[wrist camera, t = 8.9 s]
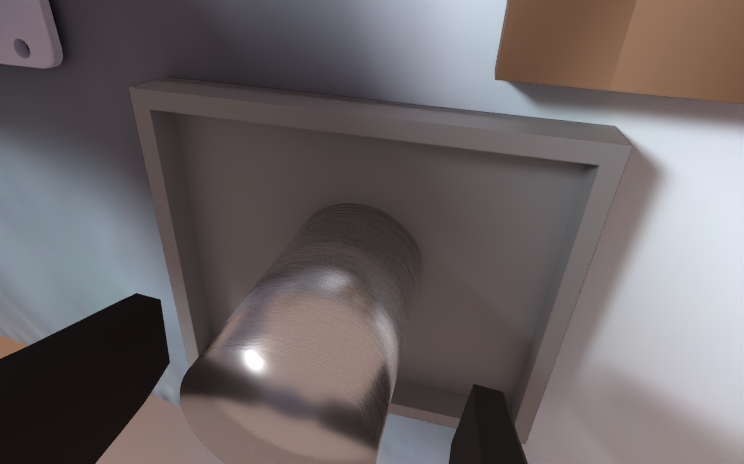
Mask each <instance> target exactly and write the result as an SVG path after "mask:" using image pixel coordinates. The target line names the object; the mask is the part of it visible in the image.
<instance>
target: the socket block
mask: <svg viewBox="0 0 744 464" xmlns="http://www.w3.org/2000/svg"><path fill="white" fill-rule="evenodd" d="M495 80H503V81H513V82H523V83H534V84H544V85H554V86H565V87H575V88H585V89H596V90H606V91H616V92H627V93H637V94H647V95H658V96H668V97H678V98H689V99H699V100H709V101H720V102H730V103H740V104H744V0H508V1H507V6H506V12H505V17H504V23H503V28H502V34H501V39H500V45H499V50H498V56H497V61H496V67H495Z"/></svg>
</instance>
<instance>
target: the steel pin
mask: <svg viewBox="0 0 744 464" xmlns="http://www.w3.org/2000/svg"><path fill="white" fill-rule="evenodd" d="M421 276H422V261H421V255H420V252H419V249H418V247H417V245H416V243H415V241H414V239H413V238H412V236H411V235H410V233H409V232H408V231H407V230H406V229H405V228H404V227H403V226H402V225H401V224H400V223H399V222H398V221H397V220H395V219H394V218H393V217H391V216H390V215H388V214H386V213H384V212H382V211H381V210H378V209H376V208H373V207H370V206H366V205H361V204H354V203H344V204H336V205H332V206H328V207H326V208H323V209H321V210H319V211H317V212H316V213H314V214H313V215H312V216H311V217H309V218H308V219H307V221H306V222H305V223H304V224H303V225H302V227H301V228H300V229H299V230H298V232H297V233H296V234H295V235H294V237H293V238H292V239H291V240H290V242H289V243H288V244H287V245H286V247H285V248H284V249H283V251H282V252H281V253H280V254H279V256H278V257H277V258H276V259H275V261H274V262H273V263H272V264H271V266H270V267H269V268H268V270H267V271H266V272H265V273H264V275H263V276H262V277H261V278H260V280H259V281H258V282H257V283H256V285H255V286H254V287H253V288H252V290H251V291H250V292H249V294H248V295H247V296H246V297H245V299H244V300H243V301H242V302H241V304H240V305H239V306H238V307H237V309H236V310H235V311H234V312H233V314H232V315H231V316H230V318H229V319H228V320H227V321H226V323H225V324H224V325H223V326H222V328H221V329H220V330H219V331H218V333H217V334H216V335H215V337H214V338H213V339H212V340H211V342H210V343H209V344H208V345H207V347H206V348H205V349H204V350H203V352H202V353H201V354H200V355H199V357H198V358H197V359H196V361H195V362H194V363H193V364H192V366H191V367H190V368H189V369H188V371H187V372H186V374H185V376H184V377H183V380H182V383H181V388H180V401H181V406H182V410H183V413H184V415H185V417H186V420H187V422H188V424H189V425H190V427H191V429H192V430H193V431H194V433H195V434H196V436H197V437H198V438H199V440H200V441H201V442H202V443H203V444H204V445H205V446H206V447H207V448H208V449H209V450H210V451H211V452H212V453H213V454H214V455H215V456H216V457H218V458H219V459H220V460H221V461H222V462H224V463H225V464H375V463H376V459H377V455H378V451H379V447H380V443H381V439H382V435H383V431H384V427H385V423H386V419H387V415H388V411H389V406H390V402H391V398H392V394H393V390H394V386H395V382H396V378H397V374H398V370H399V366H400V362H401V358H402V354H403V350H404V346H405V341H406V337H407V333H408V329H409V325H410V321H411V317H412V313H413V309H414V305H415V301H416V297H417V293H418V289H419V285H420V281H421Z"/></svg>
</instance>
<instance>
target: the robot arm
mask: <svg viewBox="0 0 744 464" xmlns="http://www.w3.org/2000/svg"><path fill="white" fill-rule="evenodd" d="M26 44H27V45H28V47H29V49H30V52H29V50H28V48H27V47H26ZM62 59H63V53H62V47H61V44H60V40H59V37H58V33H57V29H56V26H55V22H54V19H53V15H52V11H51V8H50V4H49V1H48V0H0V64H7V65H16V66H25V67H34V68H43V69H45V68H51V67H56V66H59V65H60V64H61V63H62ZM169 363H170V360H169V354H168V347H167V340H166V333H165V327H164V320H163V313H162V306H161V300H160V299H156V298H152V297H149V296H145V295H141V294H137V293H136V294H134V295H132V296H130V297H127V298H125V299H123V300H121V301H119V302H117V303H115V304H113V305H111V306H109V307H107V308H105V309H103V310H101V311H99V312H97V313H95V314H93V315H91V316H89V317H87V318H85V319H82V320H80V321H78V322H76V323H74V324H72V325H70V326H68V327H66V328H64V329H62V330H60V331H58V332H56V333H54V334H52V335H50V336H48V337H46V338H44V339H42V340H40V341H38V342H36V343H34V344H32V345H29V346H27V347H25V348H23V349H21V350H19V351H17V352H14V353H12V354H10V355H8V356H6V357H3V358H1V359H0V464H95V463H96V462H97V460H98V459H99V458H100V457H101V456H102V454H103V453H104V452H105V451H106V450H107V448H108V447H109V446H110V445H111V444H112V442H113V441H114V440H115V439H116V437H117V436H118V435H119V434H120V433H121V431H122V430H123V429H124V427H125V426H126V425H127V424H128V423H129V421H130V420H131V419H132V417H133V416H134V415H135V414H136V412H137V411H138V410H139V409H140V407H141V406H142V405H143V404H144V402H145V401H146V399H147V398H148V396H149V395H150V393H151V392H152V390H153V389H154V387H155V386H156V384H157V382H158V381H159V379H160V378H161V376H162V374H163V373H164V371H165V369H166V368H167V366H168V364H169ZM449 464H528V463H527V460H526V457H525V454H524V451H523V449H522V446H521V443H520V440H519V437H518V434H517V431H516V428H515V425H514V421H513V418H512V415H511V411H510V408H509V405H508V401H507V397H506V396H505V394H504V393H503V392H502V391H498V390H495V389H491V388H487V387H483V386H480V385H476V384H473V386H472V389H471V392H470V395H469V397H468V400H467V403H466V405H465V408H464V411H463V414H462V416H461V419H460V422H459V424H458V427H457V430H456V432H455V435H454V438H453V441H452V443H451V451H450V459H449Z"/></svg>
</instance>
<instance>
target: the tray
mask: <svg viewBox="0 0 744 464" xmlns="http://www.w3.org/2000/svg"><path fill="white" fill-rule="evenodd" d="M129 92H130V97H131V102H132V106H133V111H134V116H135V120H136V125H137V129H138V134H139V139H140V143H141V148H142V153H143V157H144V162H145V166H146V171H147V176H148V180H149V185H150V190H151V194H152V199H153V203H154V208H155V213H156V217H157V222H158V226H159V231H160V236H161V240H162V245H163V250H164V254H165V259H166V263H167V268H168V273H169V277H170V282H171V287H172V291H173V296H174V300H175V305H176V310H177V314H178V319H179V324H180V328H181V333H182V337H183V342H184V347H185V351H186V356H187V361H188V365H189V367H191V366H192V364H193V363H194V362H195V361H196V359H197V358H198V357H199V355H200V354H201V353H202V352H203V350H204V349H205V348H206V347H207V345H208V344H209V343H210V342H211V340H212V339H213V338H214V337H215V335H216V334H217V333H218V331H219V330H220V329H221V328H222V326H223V325H224V324H225V323H226V321H227V320H228V319H229V318H230V316H231V315H232V314H233V312H234V311H235V310H236V309H237V307H238V306H239V305H240V304H241V302H242V301H243V300H244V299H245V297H246V296H247V295H248V294H249V292H250V291H251V290H252V288H253V287H254V286H255V285H256V283H257V282H258V281H259V280H260V278H261V277H262V276H263V275H264V273H265V272H266V271H267V270H268V268H269V267H270V266H271V264H272V263H273V262H274V261H275V259H276V258H277V257H278V256H279V254H280V253H281V252H282V251H283V249H284V248H285V247H286V245H287V244H288V243H289V242H290V240H291V239H292V238H293V237H294V235H295V234H296V233H297V232H298V230H299V229H300V228H301V227H302V225H303V224H304V223H305V222H306V221H307V219H308V218H309V217H311V216H312V215H313V214H314V213H316V212H317V211H319V210H321V209H323V208H326V207H328V206H332V205H336V204H344V203H354V204H361V205H366V206H370V207H373V208H376V209H378V210H381V211H382V212H384V213H386V214H388V215H390V216H391V217H393V218H394V219H395V220H397V221H398V222H399V223H400V224H401V225H402V226H403V227H404V228H405V229H406V230H407V231H408V232H409V233H410V235H411V236H412V238H413V239H414V241H415V243H416V245H417V247H418V249H419V252H420V255H421V261H422V276H421V281H420V285H419V289H418V293H417V297H416V301H415V305H414V309H413V313H412V317H411V321H410V325H409V329H408V333H407V337H406V341H405V346H404V350H403V354H402V358H401V362H400V366H399V370H398V374H397V378H396V382H395V386H394V390H393V394H392V398H391V402H390V406H389V411H388V413H392V414H396V415H400V416H405V417H409V418H413V419H418V420H422V421H426V422H431V423H435V424H439V425H444V426H448V427H452V428H457V427H458V424H459V422H460V419H461V416H462V414H463V411H464V408H465V405H466V403H467V400H468V397H469V395H470V392H471V389H472V386H473V384H476V385H480V386H483V387H487V388H491V389H495V390H498V391H502V392H503V393H504V394H505V396H506V397H507V401H508V405H509V408H510V411H511V415H512V418H513V421H514V425H515V428H516V431H517V434H518V437H519V440H520V443H522V444H526V441H527V438H528V435H529V433H530V430H531V427H532V424H533V421H534V419H535V416H536V413H537V410H538V408H539V405H540V402H541V399H542V396H543V394H544V391H545V388H546V385H547V382H548V380H549V377H550V374H551V371H552V369H553V366H554V363H555V360H556V357H557V355H558V352H559V349H560V346H561V343H562V341H563V338H564V335H565V332H566V330H567V327H568V324H569V321H570V318H571V316H572V313H573V310H574V307H575V304H576V302H577V299H578V296H579V293H580V291H581V288H582V285H583V282H584V279H585V277H586V274H587V271H588V268H589V265H590V263H591V260H592V257H593V254H594V252H595V249H596V246H597V243H598V240H599V238H600V235H601V232H602V229H603V226H604V224H605V221H606V218H607V215H608V212H609V210H610V207H611V204H612V201H613V199H614V196H615V193H616V190H617V187H618V185H619V182H620V179H621V176H622V173H623V171H624V168H625V165H626V162H627V160H628V157H629V154H630V151H631V148H632V145H631V144H630V143H629V142H628V140H627V139H626V138H625V137H624V136H623V135H622V133H621V132H620V131H619V130H618V129H617V128H616V126H609V125H600V124H590V123H581V122H572V121H563V120H554V119H545V118H535V117H526V116H517V115H508V114H499V113H490V112H481V111H471V110H462V109H453V108H444V107H435V106H426V105H416V104H407V103H398V102H389V101H380V100H371V99H362V98H352V97H343V96H334V95H325V94H316V93H307V92H297V91H288V90H279V89H270V88H261V87H252V86H243V85H233V84H224V83H215V82H206V81H197V80H188V79H179V78H169V77H163V78H160V79H156V80H153V81H150V82H146V83H143V84H139V85H136V86H133V87H129Z"/></svg>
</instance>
